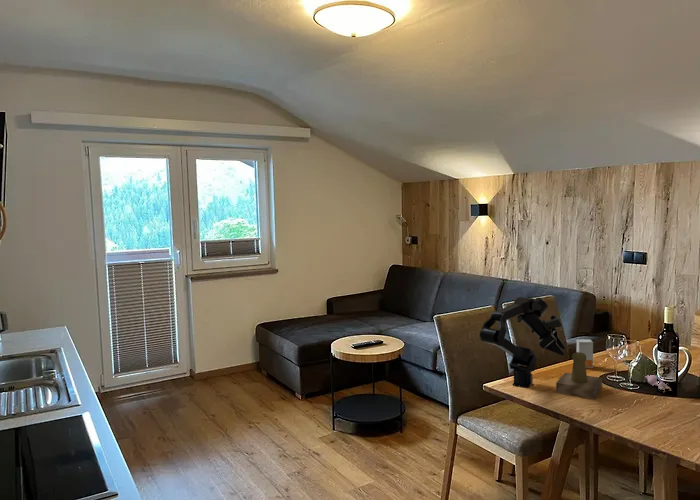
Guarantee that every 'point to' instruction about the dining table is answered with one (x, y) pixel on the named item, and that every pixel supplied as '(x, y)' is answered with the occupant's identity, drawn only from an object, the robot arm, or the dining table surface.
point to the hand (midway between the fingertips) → (564, 351)
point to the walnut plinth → (579, 386)
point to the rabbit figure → (653, 381)
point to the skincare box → (586, 351)
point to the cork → (579, 368)
